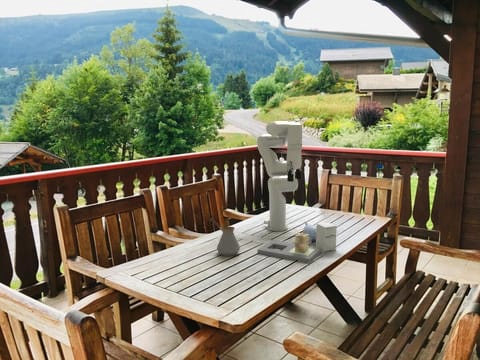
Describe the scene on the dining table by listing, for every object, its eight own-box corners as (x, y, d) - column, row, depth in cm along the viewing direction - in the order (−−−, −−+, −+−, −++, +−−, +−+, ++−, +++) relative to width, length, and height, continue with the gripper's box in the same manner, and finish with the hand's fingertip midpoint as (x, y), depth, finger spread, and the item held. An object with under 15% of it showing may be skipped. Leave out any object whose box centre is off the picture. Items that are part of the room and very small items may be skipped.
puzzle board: (257, 253, 204) (257, 248, 203) (271, 244, 217) (271, 240, 217) (309, 263, 190) (309, 258, 190) (321, 252, 204) (321, 248, 203)
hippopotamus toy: (313, 247, 212) (314, 229, 210) (296, 239, 225) (296, 222, 223) (330, 244, 217) (330, 226, 215) (312, 236, 230) (312, 220, 228)
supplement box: (324, 252, 205) (324, 227, 203) (315, 247, 211) (316, 223, 209) (336, 249, 208) (337, 225, 206) (327, 245, 214) (328, 221, 212)
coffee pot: (244, 254, 203) (244, 224, 200) (225, 259, 196) (224, 228, 194) (220, 243, 220) (220, 215, 217) (202, 247, 213) (201, 219, 211)
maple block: (294, 251, 199) (295, 235, 198) (298, 248, 203) (299, 232, 202) (304, 253, 197) (304, 236, 195) (308, 249, 201) (308, 234, 200)
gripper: (294, 145, 222) (294, 177, 225) (280, 148, 208) (280, 182, 211) (307, 146, 219) (307, 178, 222) (294, 149, 204) (294, 183, 207)
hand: (294, 180), depth 216 cm, fingers open, 9 cm apart
